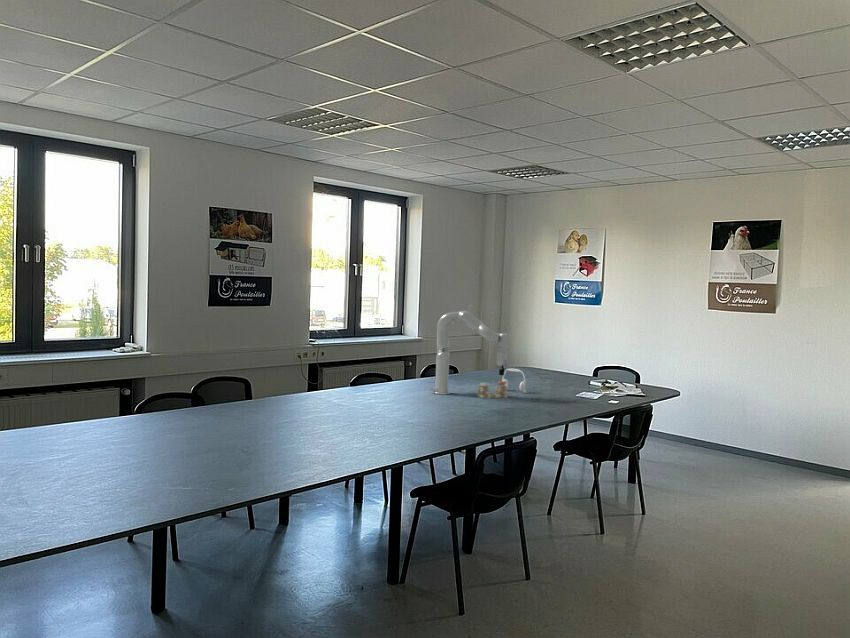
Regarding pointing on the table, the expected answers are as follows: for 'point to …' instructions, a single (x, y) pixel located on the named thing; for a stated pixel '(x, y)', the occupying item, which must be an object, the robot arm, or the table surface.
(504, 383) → the terracotta plug
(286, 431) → the table surface
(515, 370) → the headset
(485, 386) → the plug
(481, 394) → the block
